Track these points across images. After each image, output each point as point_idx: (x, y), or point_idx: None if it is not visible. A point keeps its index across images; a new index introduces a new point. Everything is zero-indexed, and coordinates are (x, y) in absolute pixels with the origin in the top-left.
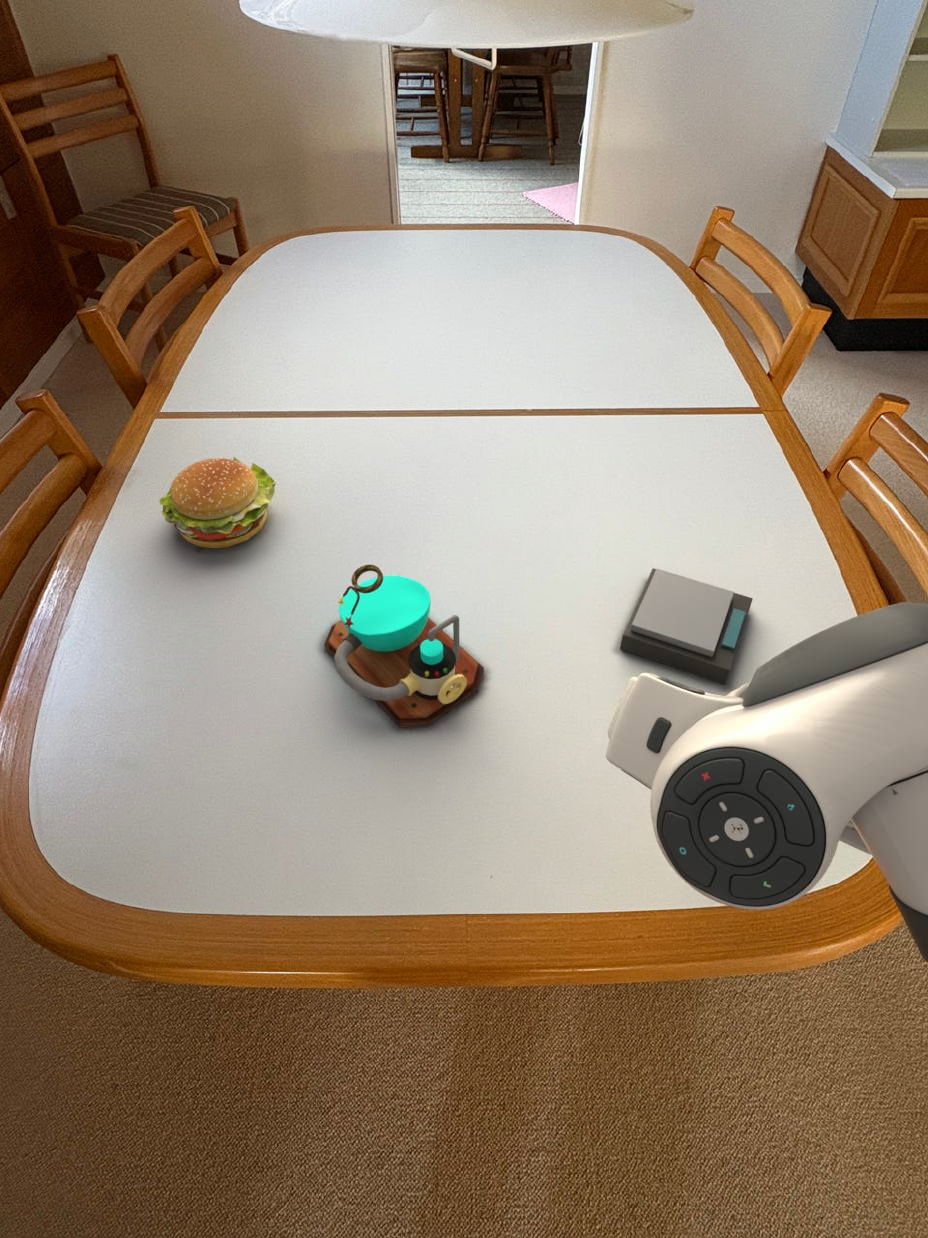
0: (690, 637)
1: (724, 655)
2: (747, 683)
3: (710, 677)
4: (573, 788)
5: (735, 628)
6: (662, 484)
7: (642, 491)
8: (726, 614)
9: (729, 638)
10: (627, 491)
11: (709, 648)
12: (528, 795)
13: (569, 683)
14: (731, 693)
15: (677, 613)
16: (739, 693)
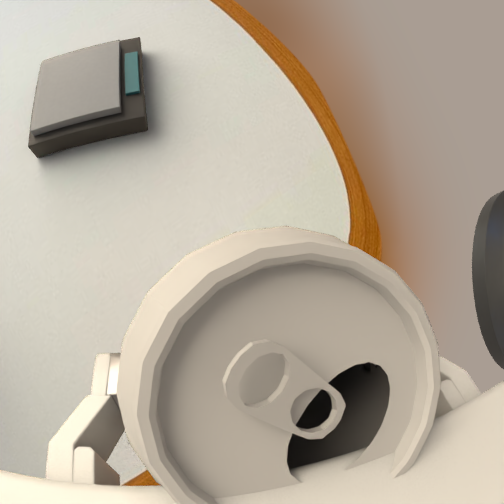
0: (90, 106)
1: (132, 103)
2: (151, 339)
3: (130, 131)
4: (67, 353)
5: (133, 70)
6: (45, 3)
7: (31, 15)
8: (118, 62)
9: (130, 83)
10: (19, 22)
11: (113, 106)
12: (40, 385)
13: (9, 230)
14: (126, 356)
15: (70, 89)
16: (149, 409)
